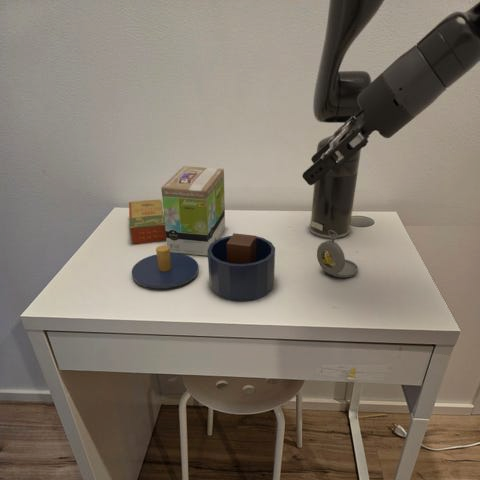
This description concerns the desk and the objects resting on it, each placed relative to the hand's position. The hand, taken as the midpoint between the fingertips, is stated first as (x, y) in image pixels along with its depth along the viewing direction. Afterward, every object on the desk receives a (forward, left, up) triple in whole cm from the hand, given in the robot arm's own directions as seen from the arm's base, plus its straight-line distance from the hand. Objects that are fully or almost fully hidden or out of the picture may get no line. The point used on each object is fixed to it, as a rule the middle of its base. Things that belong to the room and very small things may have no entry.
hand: (310, 171), depth 69 cm
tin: (+1, -12, -23) cm, 26 cm away
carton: (-14, -43, -23) cm, 51 cm away
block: (+1, -11, -22) cm, 25 cm away
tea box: (-13, -29, -23) cm, 39 cm away
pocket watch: (-10, +4, -23) cm, 25 cm away
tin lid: (+3, -28, -22) cm, 36 cm away
